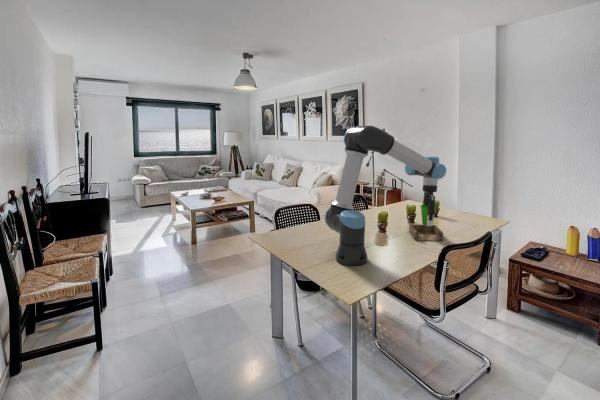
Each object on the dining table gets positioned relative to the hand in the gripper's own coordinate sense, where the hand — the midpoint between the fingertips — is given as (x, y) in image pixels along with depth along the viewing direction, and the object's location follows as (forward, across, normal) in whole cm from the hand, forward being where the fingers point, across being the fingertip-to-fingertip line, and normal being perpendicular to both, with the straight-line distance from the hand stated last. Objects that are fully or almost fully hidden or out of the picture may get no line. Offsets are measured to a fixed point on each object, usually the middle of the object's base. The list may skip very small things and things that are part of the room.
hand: (427, 223), depth 187 cm
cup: (+1, 0, 0) cm, 1 cm away
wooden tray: (+9, +2, 0) cm, 9 cm away
